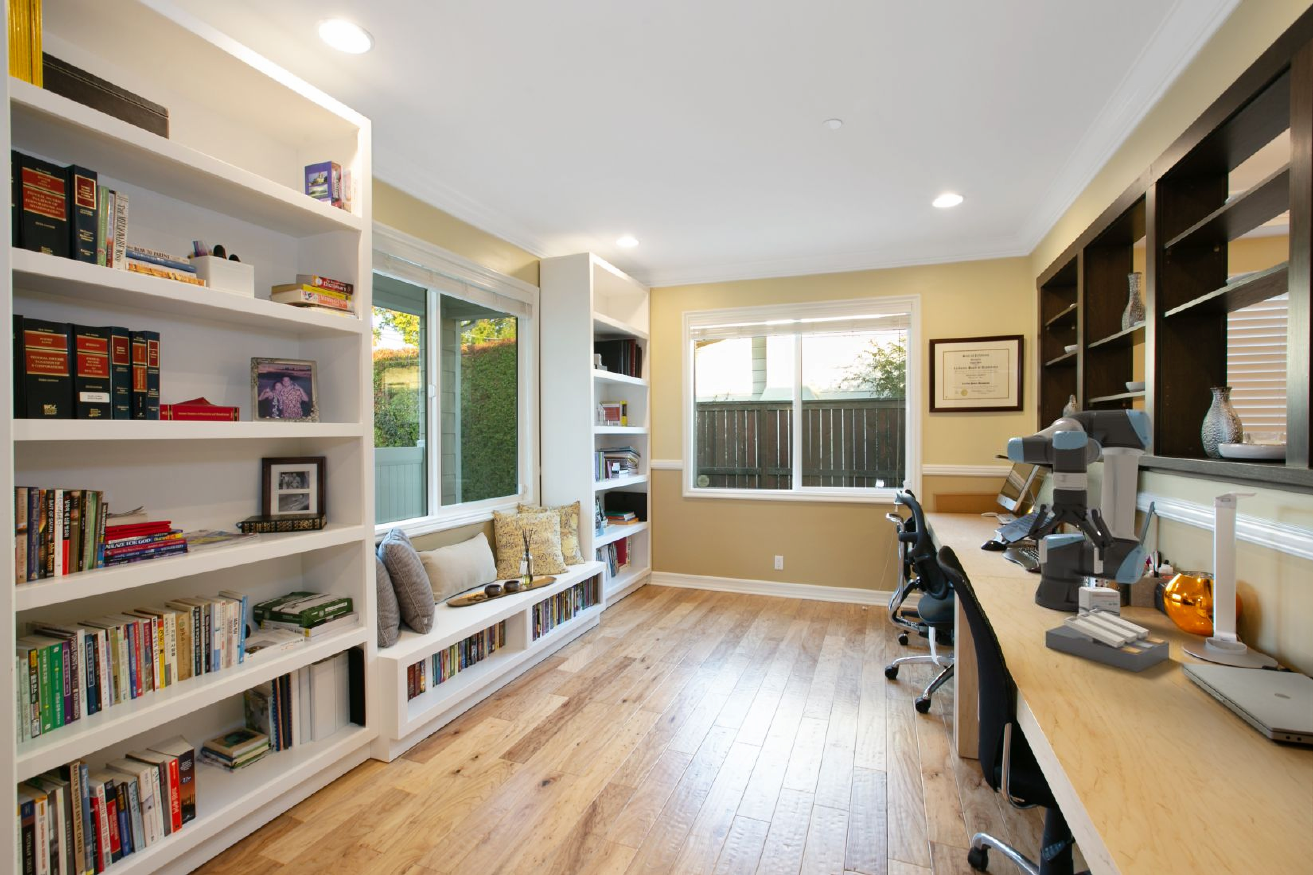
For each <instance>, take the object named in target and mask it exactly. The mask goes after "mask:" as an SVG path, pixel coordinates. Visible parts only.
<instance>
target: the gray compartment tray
mask: <svg viewBox="0 0 1313 875" xmlns="http://www.w3.org/2000/svg"><path fill="white" fill-rule="evenodd" d="M1045 647H1047V648H1050V649H1054V650H1057V651H1061V652H1064V653H1068V654H1070V655H1071V654H1072V655H1075V656H1078V657H1082V658H1085V659H1089V660H1093V661H1095V662H1099V663H1103V664H1106V665H1110V666H1114V667H1116V668H1120V669H1124V670H1127V671H1130V672H1133V673H1139V672H1141V671H1143V670H1145V669H1148V668H1150V667H1152V666H1154V665H1156V664H1158V663H1160V662H1162V661H1165V660H1168V659H1169V658H1170V642H1169V641H1167V640H1163V639H1159V638H1155V637H1152V636H1151V637H1150V636H1148V635H1147V636H1145V637H1142V638H1139V637H1137V638H1136V640H1135V641H1132V642H1130V643H1128V642H1126V641H1125V643H1124V645H1122V646H1119V647H1117V648H1116V647H1114V646H1112V645H1109V644H1107V643H1105V642H1103V641H1100V640H1098V639H1096V638H1094V637H1091V636H1089V635H1087V634H1085V633H1082V632H1080V631H1078V630H1076V629H1073V628H1071V627H1069V626H1067V625H1064V624H1063V625H1059V626H1057V627H1053V628H1052V629H1051V628H1050V629H1048V630H1046V631H1045Z"/></svg>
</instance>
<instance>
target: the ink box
mask: <svg viewBox="0 0 1313 875" xmlns="http://www.w3.org/2000/svg"><path fill="white" fill-rule="evenodd" d="M1094 609H1098V610H1101V611H1103V612H1105V613H1108V614H1110V615H1113V616H1115V617H1118V618H1120V619H1121V592H1120V591H1117V590H1115V589H1113V588H1110V587H1099V586H1098V587H1097V586H1085V587H1081V588H1079V611H1078V614H1081V613H1084V612H1085V613H1087V614H1089V611H1091V610H1094Z"/></svg>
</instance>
